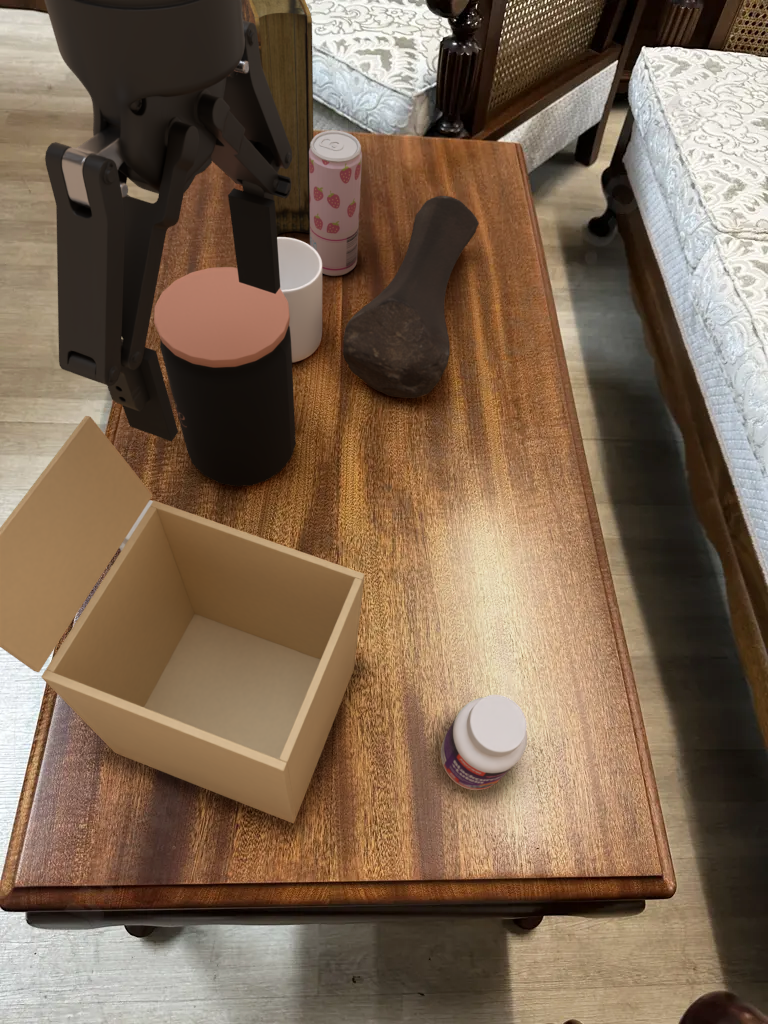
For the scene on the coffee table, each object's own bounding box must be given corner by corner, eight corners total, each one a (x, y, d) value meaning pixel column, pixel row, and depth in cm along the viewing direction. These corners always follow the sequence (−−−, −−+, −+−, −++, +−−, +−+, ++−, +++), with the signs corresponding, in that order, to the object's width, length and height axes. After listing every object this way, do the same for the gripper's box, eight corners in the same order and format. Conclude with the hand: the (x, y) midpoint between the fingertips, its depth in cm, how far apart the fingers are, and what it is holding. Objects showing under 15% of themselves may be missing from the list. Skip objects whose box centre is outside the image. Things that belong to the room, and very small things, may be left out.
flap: (39, 672, 40) (34, 671, 41) (153, 495, 47) (148, 494, 47) (-54, 606, 35) (-60, 605, 35) (90, 415, 42) (85, 415, 42)
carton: (114, 752, 56) (40, 677, 41) (193, 609, 63) (153, 499, 48) (293, 823, 54) (283, 771, 39) (354, 668, 61) (365, 573, 46)
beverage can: (310, 246, 89) (308, 127, 77) (355, 247, 90) (361, 129, 77) (310, 277, 86) (308, 159, 74) (357, 278, 87) (364, 161, 74)
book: (248, 165, 97) (228, -56, 76) (288, 161, 98) (279, -58, 77) (271, 243, 89) (255, 19, 68) (314, 238, 90) (312, 16, 69)
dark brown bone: (400, 425, 78) (448, 284, 95) (461, 370, 70) (501, 228, 88) (317, 366, 74) (383, 232, 92) (372, 302, 67) (432, 169, 84)
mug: (209, 361, 78) (194, 286, 69) (219, 308, 82) (207, 231, 74) (320, 368, 79) (319, 294, 70) (324, 315, 83) (324, 239, 74)
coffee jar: (218, 395, 76) (192, 252, 60) (312, 426, 74) (310, 287, 59) (168, 471, 70) (126, 335, 55) (269, 506, 69) (255, 377, 54)
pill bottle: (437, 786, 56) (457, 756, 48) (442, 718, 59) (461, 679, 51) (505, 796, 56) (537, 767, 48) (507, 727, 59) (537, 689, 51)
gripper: (14, 140, 20) (160, 529, 38) (353, -137, 33) (343, 251, 51) (-206, 71, 21) (38, 481, 39) (207, -171, 34) (247, 221, 52)
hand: (211, 351), depth 45 cm, fingers open, 13 cm apart
